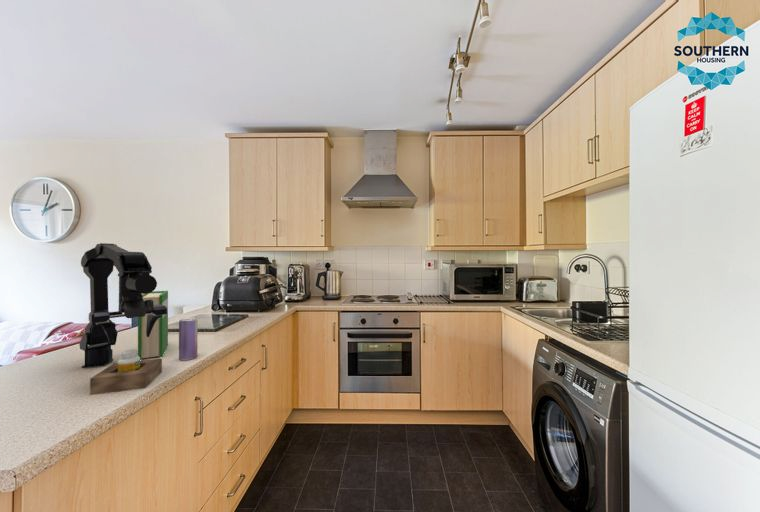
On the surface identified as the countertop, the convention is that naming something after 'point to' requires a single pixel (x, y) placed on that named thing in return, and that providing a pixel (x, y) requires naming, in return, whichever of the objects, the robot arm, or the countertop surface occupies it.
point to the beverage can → (188, 338)
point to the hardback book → (153, 329)
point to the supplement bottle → (129, 361)
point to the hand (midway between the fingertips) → (130, 339)
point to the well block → (125, 377)
